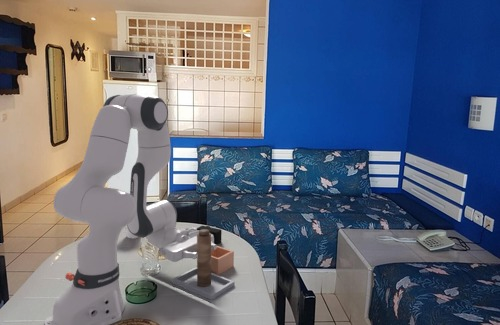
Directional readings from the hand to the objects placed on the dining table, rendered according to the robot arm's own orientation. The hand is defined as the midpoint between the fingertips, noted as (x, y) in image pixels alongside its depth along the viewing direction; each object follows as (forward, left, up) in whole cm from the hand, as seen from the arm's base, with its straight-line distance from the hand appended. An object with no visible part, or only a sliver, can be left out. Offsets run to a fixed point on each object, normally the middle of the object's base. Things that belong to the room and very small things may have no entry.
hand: (206, 251), depth 133 cm
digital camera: (+30, +25, -13) cm, 41 cm away
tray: (-1, +1, -13) cm, 13 cm away
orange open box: (+12, +6, -13) cm, 19 cm away
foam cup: (+14, +58, -13) cm, 61 cm away
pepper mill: (0, +1, -12) cm, 12 cm away
